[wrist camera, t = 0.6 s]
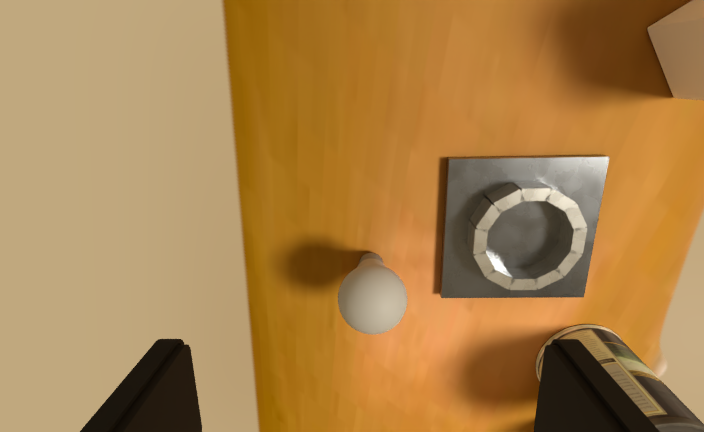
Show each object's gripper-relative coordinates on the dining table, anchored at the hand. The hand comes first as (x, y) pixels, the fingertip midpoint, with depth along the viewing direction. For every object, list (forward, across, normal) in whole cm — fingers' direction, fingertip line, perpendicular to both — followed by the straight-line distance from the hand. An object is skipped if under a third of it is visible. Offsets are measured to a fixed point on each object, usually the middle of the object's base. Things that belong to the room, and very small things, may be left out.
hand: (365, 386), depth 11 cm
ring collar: (+32, -16, +6) cm, 36 cm away
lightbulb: (+32, -1, +10) cm, 33 cm away
